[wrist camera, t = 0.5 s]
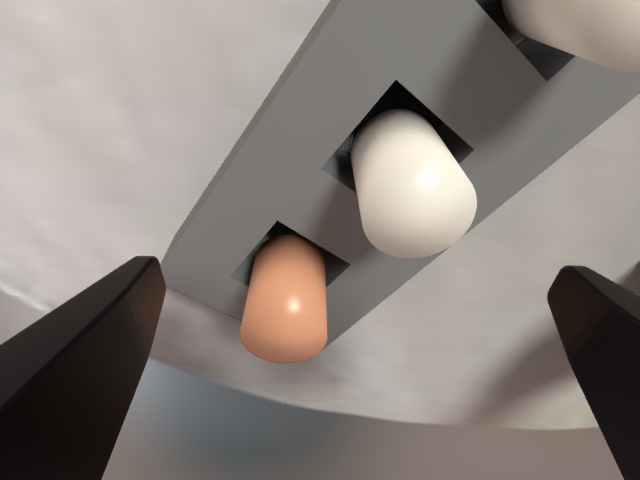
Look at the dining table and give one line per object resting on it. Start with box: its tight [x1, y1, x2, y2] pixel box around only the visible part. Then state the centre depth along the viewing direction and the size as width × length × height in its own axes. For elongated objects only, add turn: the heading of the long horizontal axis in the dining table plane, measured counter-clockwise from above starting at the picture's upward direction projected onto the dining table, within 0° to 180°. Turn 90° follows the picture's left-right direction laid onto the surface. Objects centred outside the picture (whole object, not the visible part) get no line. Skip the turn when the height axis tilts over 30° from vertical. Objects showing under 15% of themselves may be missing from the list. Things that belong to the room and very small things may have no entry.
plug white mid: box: [351, 109, 477, 258], centre depth 14 cm, size 4×4×5 cm
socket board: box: [160, 0, 640, 350], centre depth 17 cm, size 11×26×4 cm, turn 142°
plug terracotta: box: [240, 234, 327, 363], centre depth 18 cm, size 4×4×5 cm
